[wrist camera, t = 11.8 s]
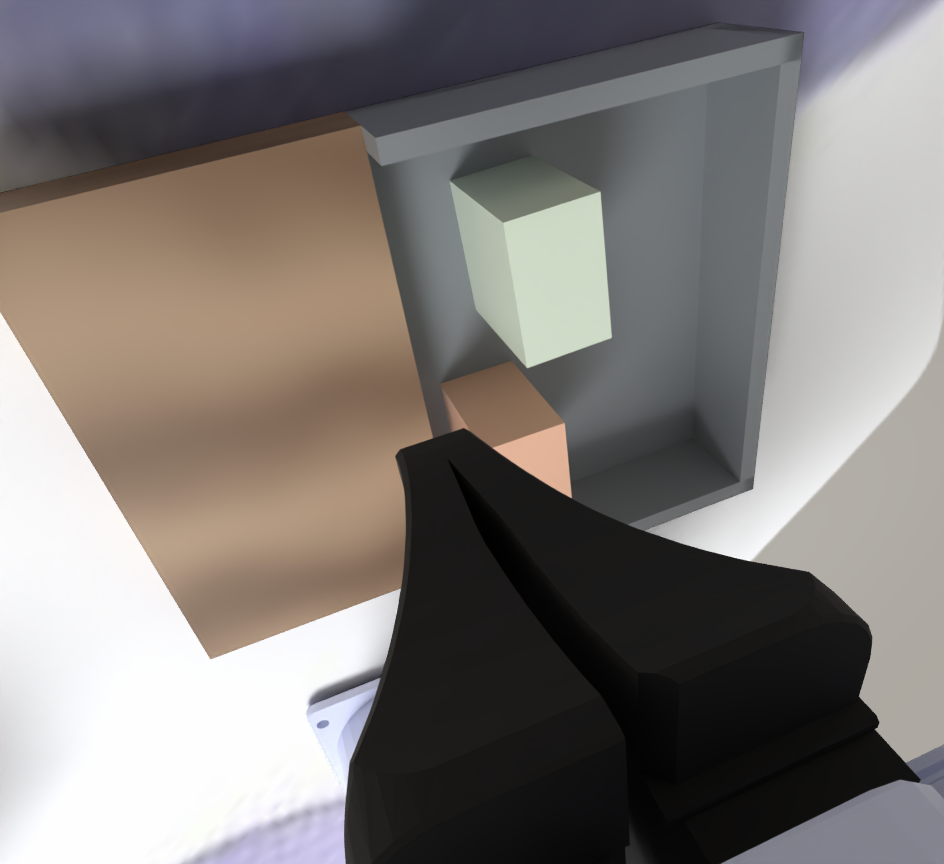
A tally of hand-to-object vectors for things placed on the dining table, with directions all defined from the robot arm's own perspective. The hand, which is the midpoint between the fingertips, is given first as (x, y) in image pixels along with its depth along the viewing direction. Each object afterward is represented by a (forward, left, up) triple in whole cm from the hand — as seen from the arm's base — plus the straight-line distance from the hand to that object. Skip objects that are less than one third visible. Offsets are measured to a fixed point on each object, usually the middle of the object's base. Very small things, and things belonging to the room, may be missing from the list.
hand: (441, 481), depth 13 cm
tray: (-3, -7, -10) cm, 12 cm away
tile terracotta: (-6, -2, -7) cm, 10 cm away
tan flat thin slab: (-3, +3, -10) cm, 11 cm away
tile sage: (0, -4, -7) cm, 8 cm away
